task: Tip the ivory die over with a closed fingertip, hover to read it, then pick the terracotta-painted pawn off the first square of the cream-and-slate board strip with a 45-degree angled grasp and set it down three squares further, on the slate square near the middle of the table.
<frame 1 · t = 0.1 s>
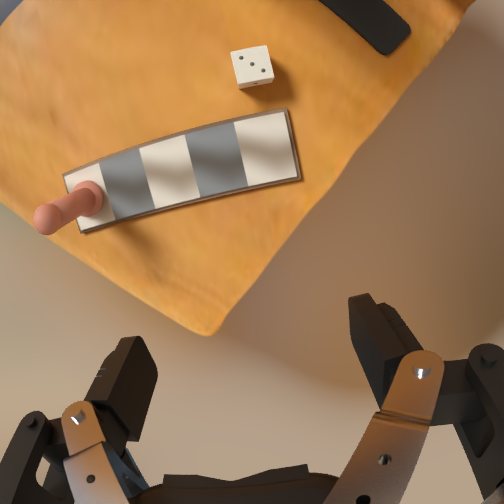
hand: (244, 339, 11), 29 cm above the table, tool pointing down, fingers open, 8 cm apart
die: (251, 71, 33), on the table
phone: (356, 6, 29), on the table
pawn: (88, 197, 37), point 1 cm above the table, touching board
board: (171, 171, 37), on the table
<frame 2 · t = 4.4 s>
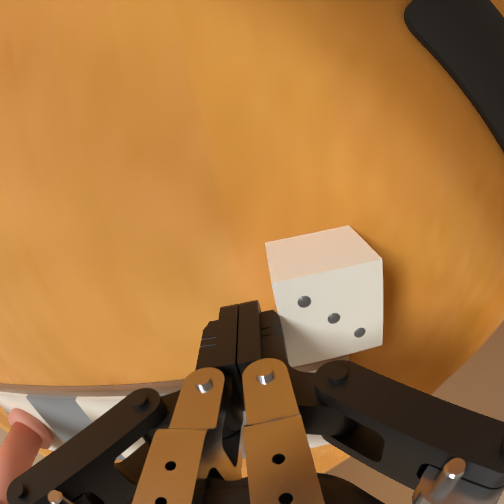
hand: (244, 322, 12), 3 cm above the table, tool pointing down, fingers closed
die: (313, 272, 15), on the table, touching gripper
pawn: (32, 425, 19), point 1 cm above the table, touching board
board: (137, 425, 19), on the table
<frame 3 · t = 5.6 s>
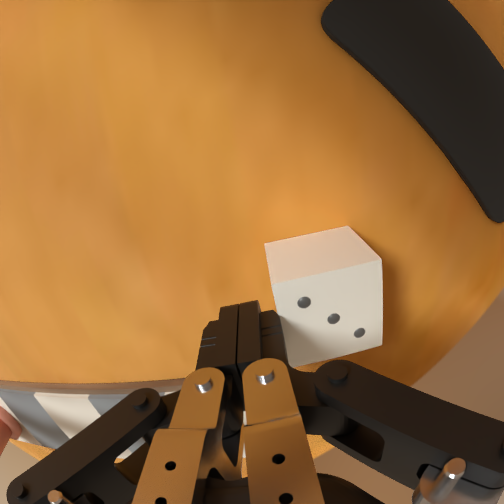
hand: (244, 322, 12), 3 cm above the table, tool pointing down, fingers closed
die: (313, 272, 15), on the table, touching gripper
phone: (456, 88, 12), on the table
pawn: (3, 417, 20), point 1 cm above the table, touching board
board: (89, 422, 20), on the table
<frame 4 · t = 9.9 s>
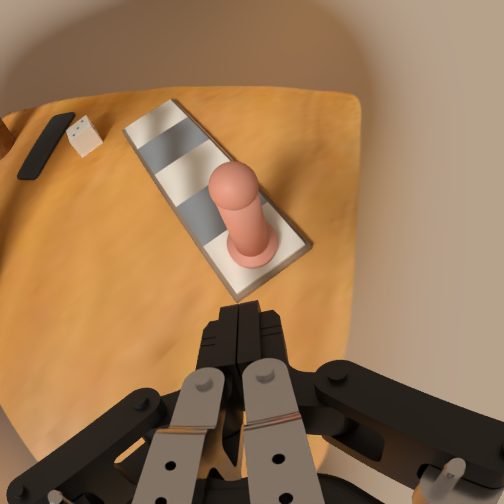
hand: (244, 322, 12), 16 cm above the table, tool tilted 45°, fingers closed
die: (90, 144, 42), on the table
phone: (47, 146, 45), on the table
pawn: (253, 245, 30), point 1 cm above the table, touching board
disposable coffee cup: (5, 149, 48), on the table
board: (195, 175, 36), on the table
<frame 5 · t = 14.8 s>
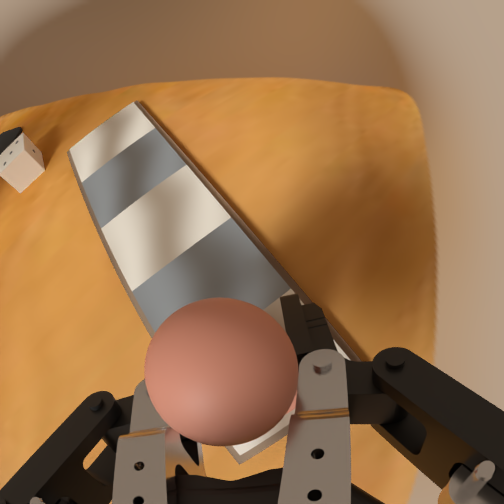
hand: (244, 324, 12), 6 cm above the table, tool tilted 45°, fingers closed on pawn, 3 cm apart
die: (31, 172, 28), on the table
pawn: (266, 374, 16), point 1 cm above the table, touching board, gripper
board: (165, 229, 21), on the table
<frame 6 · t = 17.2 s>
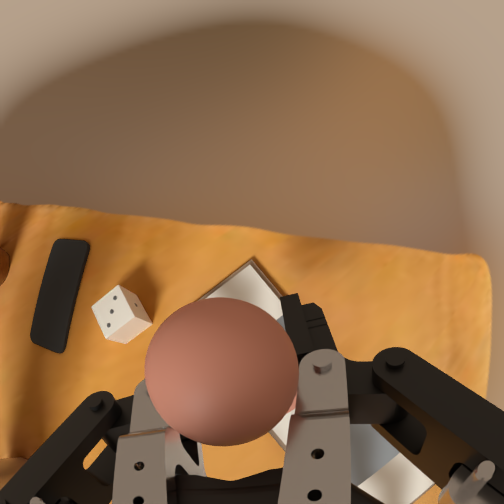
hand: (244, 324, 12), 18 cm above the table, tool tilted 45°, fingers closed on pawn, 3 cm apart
die: (131, 319, 32), on the table
phone: (60, 294, 35), on the table
pawn: (266, 373, 16), point 13 cm above the table, touching gripper
disposable coffee cup: (0, 269, 39), on the table
board: (314, 410, 26), on the table
when the fingers open (7 cm above the table, at t = 19.7 s): pawn stays where it is, resting on board.
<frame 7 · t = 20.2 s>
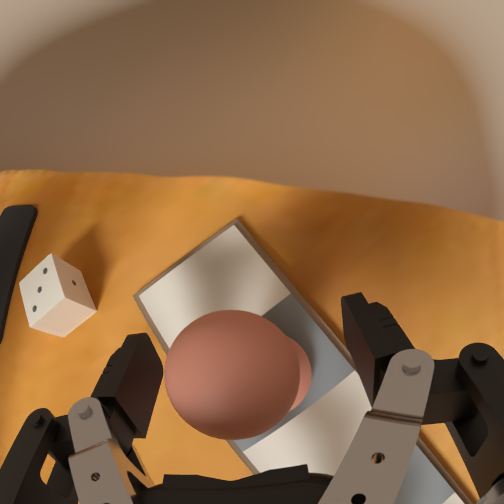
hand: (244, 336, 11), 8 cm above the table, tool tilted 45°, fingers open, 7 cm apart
die: (72, 304, 22), on the table
phone: (3, 273, 25), on the table
pawn: (268, 374, 17), point 1 cm above the table, touching board
board: (328, 447, 15), on the table
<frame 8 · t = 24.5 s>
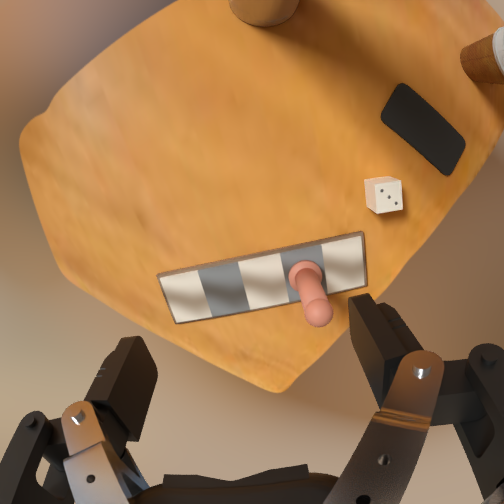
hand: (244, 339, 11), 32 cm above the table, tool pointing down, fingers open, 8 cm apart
die: (377, 191, 41), on the table
phone: (424, 130, 38), on the table
pawn: (304, 275, 45), point 1 cm above the table, touching board
disposable coffee cup: (472, 64, 33), on the table
board: (264, 280, 46), on the table
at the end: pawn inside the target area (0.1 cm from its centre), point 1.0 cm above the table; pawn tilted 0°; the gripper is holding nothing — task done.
